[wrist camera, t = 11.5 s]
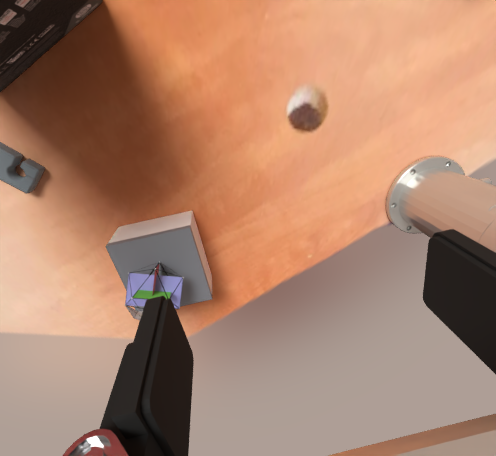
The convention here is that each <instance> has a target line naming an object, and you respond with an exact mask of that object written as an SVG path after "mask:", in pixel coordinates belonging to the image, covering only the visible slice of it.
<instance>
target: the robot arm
mask: <svg viewBox="0 0 496 456" xmlns="http://www.w3.org/2000/svg"><path fill="white" fill-rule="evenodd" d="M386 211H387V215H388V217H389V219H390V221H391V222H392V224H394V225H395V226H396V227H397V228H399V229H400V230H402V231H404V232H407V233H424V234H426V235H427V236H429V237H430V240H429V243H428V253H427V262H426V271H425V282H424V290H423V300H424V302H425V304H426V306H427V307H428V308H429V309H430V310H431V311H433V313H434V314H435V315H436V316H437V317H438V318H439V319H440V320H441V321H442V322H443V323H444V324H445V325H446V326H448V328H449V329H450V330H451V331H453V332H454V333H455V334H456V335H457V336H458V337H459V338H460V339H461V340H462V341H463V342H464V343H465V344H466V345H467V346H468V347H469V348H470V349H471V350H472V351H473V352H474V353H475V354H476V355H477V356H478V357H479V358H480V359H481V360H482V361H483V362H484V363H485V364H486V365H487V366H488V367H489V368H490V369H491V370H492V371H493V372H494V373H495V374H496V186H495V185H492V184H491V180H490V179H489V178H484V179H479V180H477V179H474V178H471V177H468V176H465V173H464V171H463V169H462V167H461V166H460V165H459V164H458V163H457V162H455V161H454V160H452V159H449V158H446V157H441V156H430V157H426V158H422V159H420V160H417V161H415V162H414V163H412V164H410V165H409V166H408V167H406V168H405V169H404V170H403V171H402V172H401V173H400V174H399V175H398V176H397V177H396V179H395V180H394V182H393V183H392V185H391V187H390V189H389V192H388V195H387V199H386ZM192 379H193V354H192V350H191V348H190V345H189V342H188V340H187V337H186V335H185V332H184V330H183V327H182V325H181V322H180V320H179V317H178V315H177V312H176V310H175V307H174V305H173V302H172V300H171V299H170V298H169V299H166V298H165V296H159V297H155V298H151V299H147V300H146V302H145V306H144V309H143V312H142V316H141V319H140V322H139V326H138V329H137V332H136V336H135V339H134V342H133V343H130V344H128V345H127V347H126V349H125V352H124V355H123V358H122V361H121V364H120V367H119V370H118V373H117V376H116V380H115V383H114V386H113V389H112V392H111V395H110V398H109V401H108V405H107V407H106V411H105V414H104V417H103V420H102V423H101V426H100V429H97V430H93V431H91V432H89V433H87V434H85V435H83V436H82V437H81V438H79V439H78V440H77V441H75V442H74V443H73V444H72V445H71V446H70V447H69V448H68V449H67V450H66V452H65V453H64V455H63V456H188V448H189V431H190V413H191V396H192ZM329 456H496V414H493V415H489V416H485V417H480V418H476V419H472V420H468V421H464V422H460V423H456V424H452V425H448V426H444V427H440V428H436V429H432V430H428V431H424V432H420V433H416V434H412V435H408V436H404V437H400V438H396V439H392V440H388V441H384V442H380V443H377V444H372V445H368V446H364V447H360V448H356V449H352V450H348V451H344V452H341V453H337V454H333V455H329Z"/></svg>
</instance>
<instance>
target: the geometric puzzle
mask: <svg viewBox="0 0 496 456" xmlns="http://www.w3.org/2000/svg"><path fill="white" fill-rule="evenodd" d="M159 263H160V262H159ZM159 263H158V264H157V266H156V267H155V268H154V269H149V270H152V272H151V273H150V274H136V273H133V272H130V273H128V274H129V275H128V285H127V294H126V304H125V306H126V307H127V308H128V310H129V312H130V313H131V315H132V316H133V318H135V319H138V320H140V319H141V316H142V312H143V311H141V310H140V311H137V310H134V309H132V308H130V307H128V306H129V305H130V306H131V307H134V306H145V302H146V300H147V299H151V298H155V297H159V296H165V298H166V299H169V298H170V299H171V300H172V302H173V305H174V307H175V308H176V309H177V310H178V309H180V301H181V292H182V284H183V278H184V277H182V276H179V277H173V276H168V275H167V273H168V272H165V270H164V268H163V267H162V268H163V270H164V271H163V272H165V273H166V275H167V276H161V275H158V272H159ZM161 264H162V263H160V265H161ZM153 265H154V264H153ZM150 266H151V265H150ZM161 266H162V265H161ZM164 266H165V265H164ZM147 267H148V266H147ZM144 268H145V267H144ZM167 268H168V267H167ZM141 269H142V268H141ZM138 270H139V269H138ZM154 270H155V275H151V274H152V273H153V272H154ZM143 271H146V270H143ZM160 271H161V270H160ZM172 271H173V270H172ZM137 272H140V271H137ZM175 273H176V272H175ZM169 274H171V273H169ZM173 275H174V274H173ZM178 275H179V274H178ZM178 275H176V276H178ZM136 308H139V307H136ZM141 309H144V308H141Z"/></svg>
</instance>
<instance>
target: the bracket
mask: <svg viewBox="0 0 496 456" xmlns="http://www.w3.org/2000/svg"><path fill="white" fill-rule="evenodd" d="M22 158H23V155H22V154H20V153H19V152H17V151H15V150H13V149H12V148H10V147H8V146H6V145H5V144H3V143H1V142H0V180H2V181H4V182H6V183H8V184H9V185H11V186H13V187H15V188H17V189H19V190H21V191H23V192H25V193H30V192H32V191H33V190H35V188H36V186H37V184H38V182H39V180H40V178H41V176H42V174H43V172H44V170H45V167H43V166H42V165H40V164H38V163H36V162H35V161H33V160H31V159H27V160H25V161H23V162H22V164H21V163H20V162H21V160H22ZM19 164H21V166H20V168H22V169H23V170H24V172H25V174H26V176H25V177H22V176H20V175H19V174H18V173H17V172H16V166H17V165H19Z"/></svg>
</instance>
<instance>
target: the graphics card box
mask: <svg viewBox="0 0 496 456" xmlns="http://www.w3.org/2000/svg"><path fill="white" fill-rule="evenodd" d="M102 1H103V0H0V92H1V91H2V90H3V89H5V88H6V87H7V86H8V85H9V84H10V83H11V82H13V81H14V80H15V79H16V78H17V77H18V76H19V75H20V74H22V73H23V72H24V71H25V70H26V69H27V68H28V67H30V66H31V65H32V64H33V63H34V62H35V61H36V60H37V59H39V58H40V57H41V56H42V55H43V54H44V53H45V52H47V51H48V50H49V49H50V48H51V47H52V46H53V45H55V44H56V43H57V42H58V41H59V40H60V39H61V38H63V37H64V36H65V35H66V34H67V33H68V32H69V31H70V30H72V29H73V28H74V27H75V26H76V25H77V24H79V23H80V22H81V21H82V20H83V19H84V18H85V17H86V16H87V15H89V14H90V13H91V12H92V11H93V10H94V9H95V8H96V7H98V6H99V5H100V4H101V3H102Z"/></svg>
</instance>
